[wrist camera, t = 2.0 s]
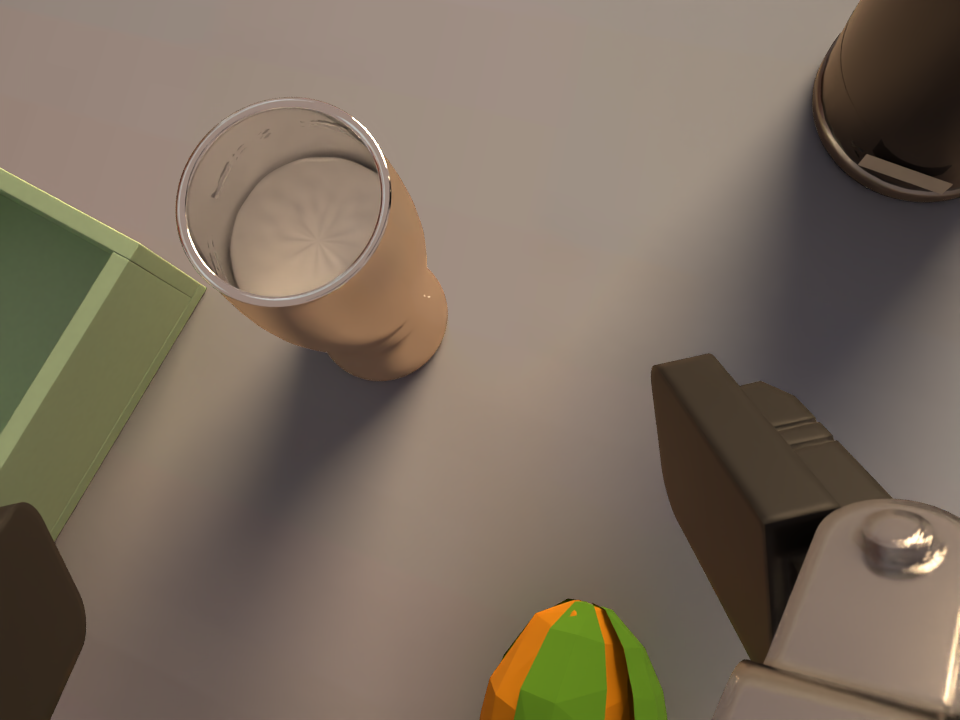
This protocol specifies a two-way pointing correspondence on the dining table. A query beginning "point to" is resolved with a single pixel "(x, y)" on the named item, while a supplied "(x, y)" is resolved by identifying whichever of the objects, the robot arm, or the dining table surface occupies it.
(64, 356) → the tub
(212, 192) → the beer glass
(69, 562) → the dining table surface
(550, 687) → the corn
